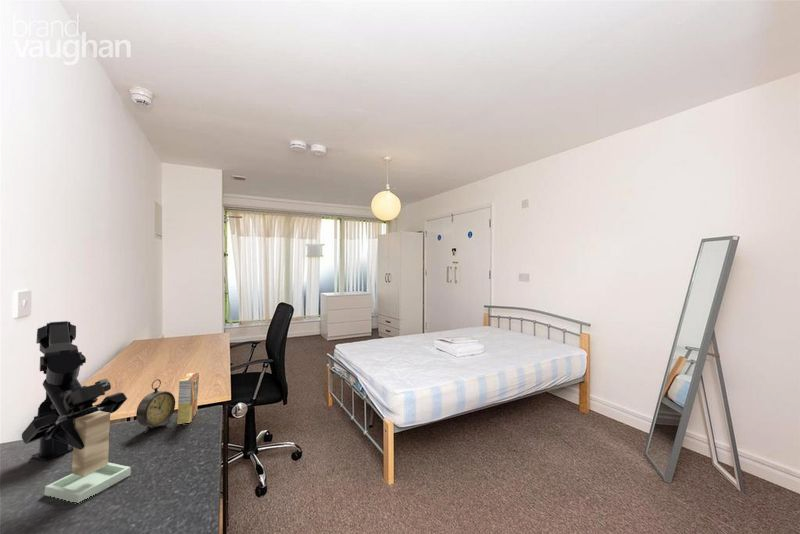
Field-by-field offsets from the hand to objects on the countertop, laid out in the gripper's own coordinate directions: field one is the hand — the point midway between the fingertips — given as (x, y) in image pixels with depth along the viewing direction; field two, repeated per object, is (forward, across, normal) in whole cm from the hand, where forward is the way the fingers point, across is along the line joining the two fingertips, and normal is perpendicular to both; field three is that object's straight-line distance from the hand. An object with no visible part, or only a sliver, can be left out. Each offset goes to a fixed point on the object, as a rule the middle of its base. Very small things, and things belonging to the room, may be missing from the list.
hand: (95, 442), depth 78 cm
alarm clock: (-3, +27, +18) cm, 33 cm away
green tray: (+6, 0, +8) cm, 10 cm away
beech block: (+4, 0, +6) cm, 7 cm away
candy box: (0, +35, +15) cm, 38 cm away
